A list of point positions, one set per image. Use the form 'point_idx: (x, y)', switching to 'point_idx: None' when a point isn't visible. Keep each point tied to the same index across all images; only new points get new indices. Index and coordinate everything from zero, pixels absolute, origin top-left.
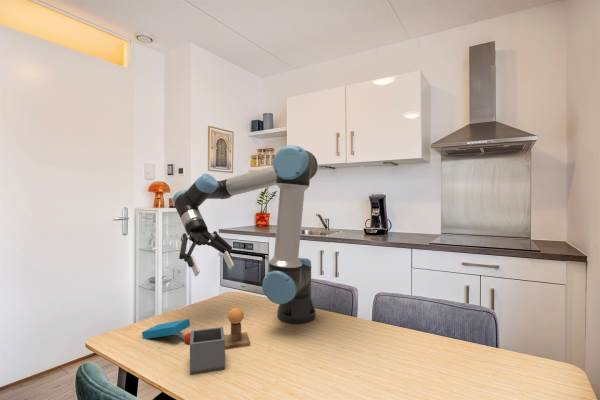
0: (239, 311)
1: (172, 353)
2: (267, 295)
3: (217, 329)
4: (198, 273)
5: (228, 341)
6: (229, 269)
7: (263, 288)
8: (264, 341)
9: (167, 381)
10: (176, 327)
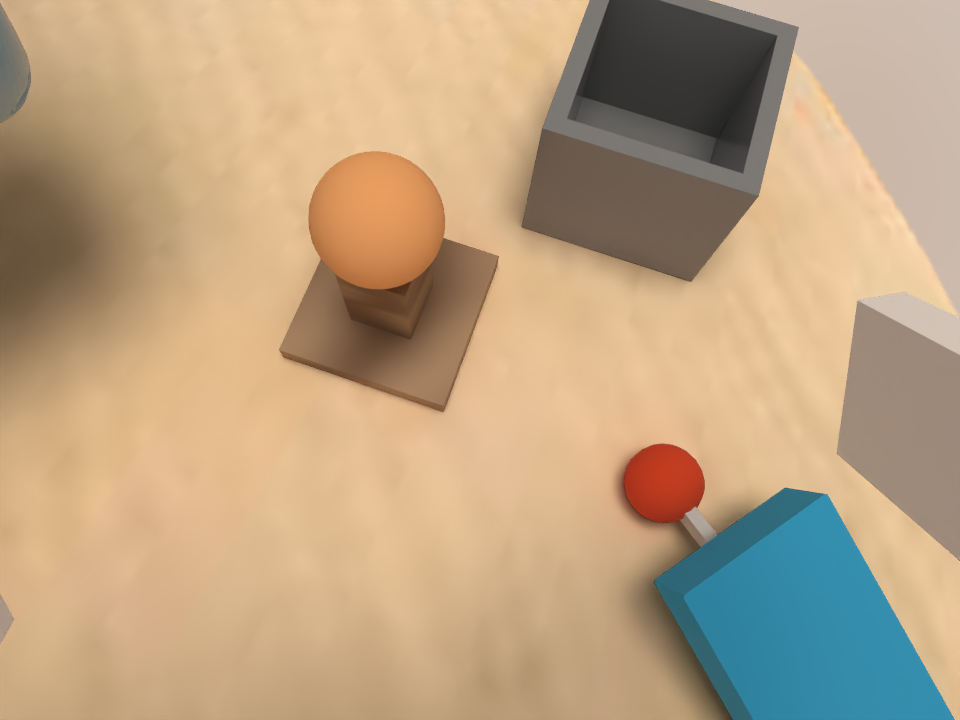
0: (362, 154)
1: (778, 400)
2: (25, 52)
3: (584, 128)
4: (851, 376)
5: (450, 295)
6: (9, 620)
7: (6, 20)
8: (246, 213)
9: (826, 150)
10: (795, 505)
